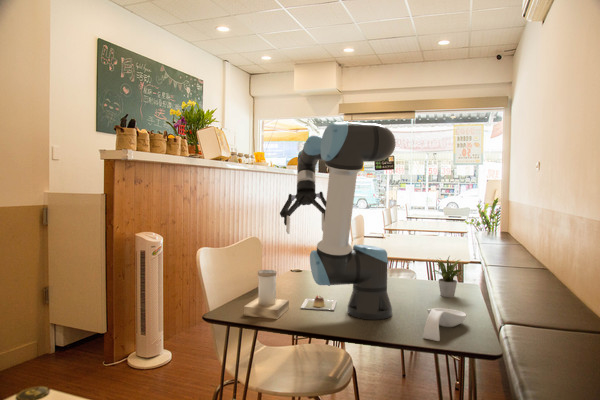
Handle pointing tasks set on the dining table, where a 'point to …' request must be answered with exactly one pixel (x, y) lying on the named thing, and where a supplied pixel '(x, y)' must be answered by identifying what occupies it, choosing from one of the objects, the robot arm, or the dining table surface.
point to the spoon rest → (441, 321)
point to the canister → (266, 287)
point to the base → (266, 309)
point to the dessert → (318, 303)
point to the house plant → (448, 278)
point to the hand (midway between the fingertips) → (305, 231)
